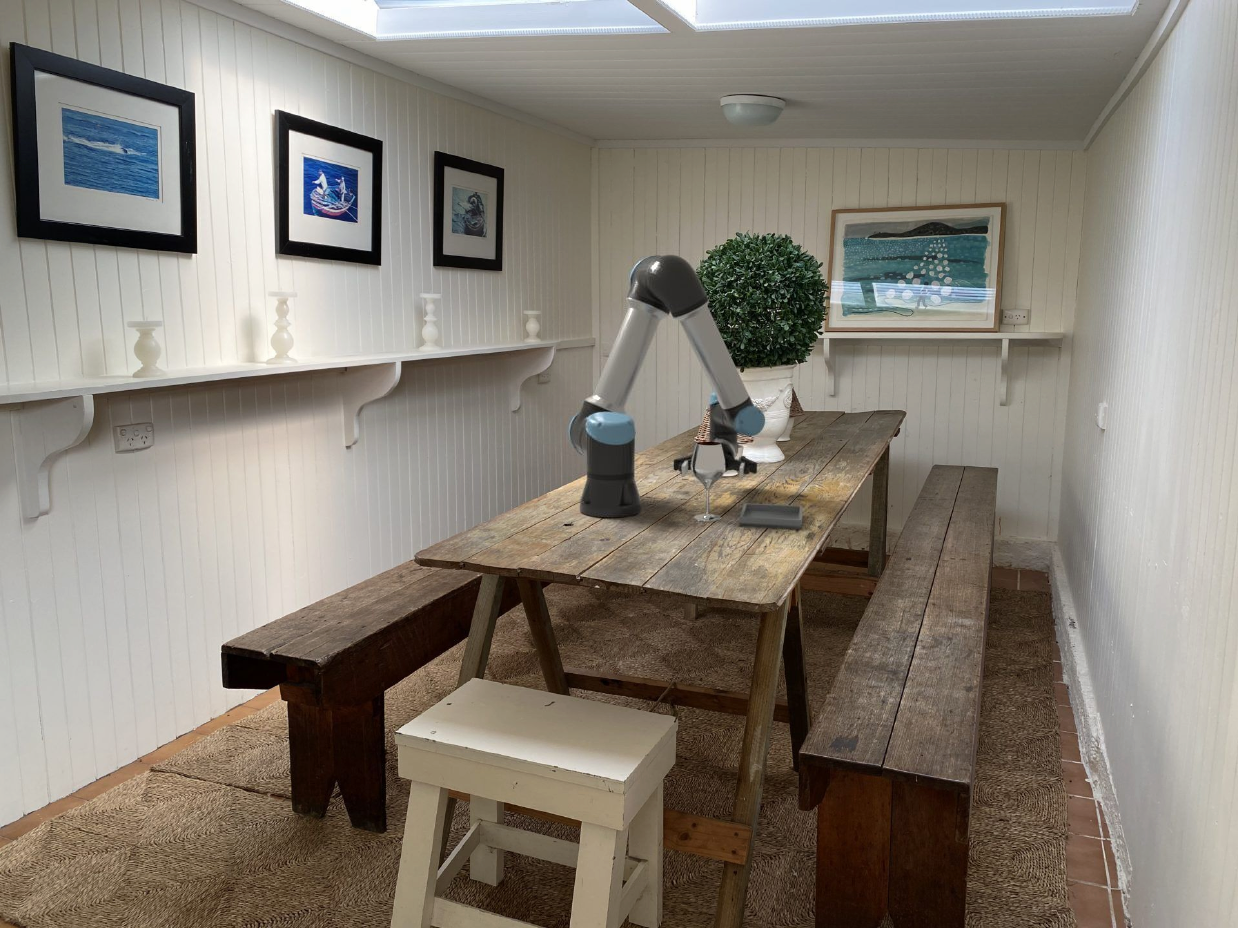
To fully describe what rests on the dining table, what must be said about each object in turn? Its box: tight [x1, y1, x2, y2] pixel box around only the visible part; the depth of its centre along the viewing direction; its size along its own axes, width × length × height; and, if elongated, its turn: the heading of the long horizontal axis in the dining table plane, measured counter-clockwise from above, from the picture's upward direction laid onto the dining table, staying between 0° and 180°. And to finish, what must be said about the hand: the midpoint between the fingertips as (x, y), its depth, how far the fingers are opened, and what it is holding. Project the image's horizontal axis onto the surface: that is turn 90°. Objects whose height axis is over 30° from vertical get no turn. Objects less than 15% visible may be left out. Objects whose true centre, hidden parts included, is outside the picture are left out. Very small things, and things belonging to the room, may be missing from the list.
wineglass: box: [690, 440, 726, 523], centre depth 223 cm, size 8×8×18 cm
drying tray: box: [738, 502, 804, 530], centre depth 223 cm, size 14×14×2 cm
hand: (711, 472), depth 224 cm, fingers open, 13 cm apart
